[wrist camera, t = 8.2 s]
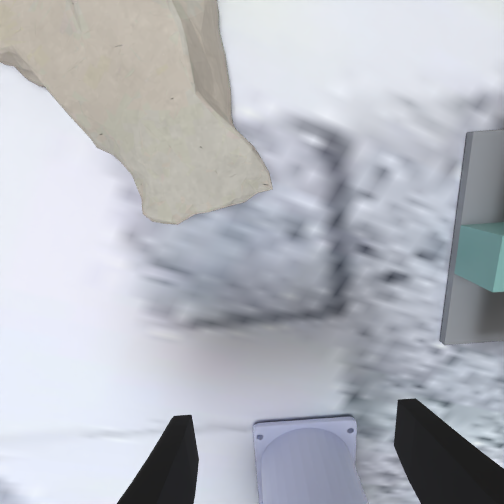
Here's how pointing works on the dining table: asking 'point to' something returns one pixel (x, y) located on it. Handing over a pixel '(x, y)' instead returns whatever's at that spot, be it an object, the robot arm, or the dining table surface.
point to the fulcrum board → (473, 207)
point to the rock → (142, 94)
